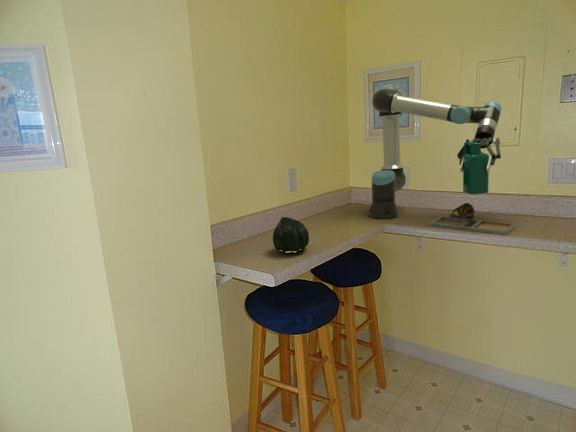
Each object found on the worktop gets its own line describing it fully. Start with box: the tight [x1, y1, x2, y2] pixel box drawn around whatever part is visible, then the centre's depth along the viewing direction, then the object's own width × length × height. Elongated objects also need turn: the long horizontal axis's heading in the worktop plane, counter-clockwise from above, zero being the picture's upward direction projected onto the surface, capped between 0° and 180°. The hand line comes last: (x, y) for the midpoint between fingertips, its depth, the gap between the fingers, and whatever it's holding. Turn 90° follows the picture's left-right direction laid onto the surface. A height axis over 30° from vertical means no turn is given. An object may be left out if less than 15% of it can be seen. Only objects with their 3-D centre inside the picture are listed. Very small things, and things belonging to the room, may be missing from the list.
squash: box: [272, 216, 310, 252], centre depth 155 cm, size 14×15×15 cm
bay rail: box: [428, 215, 516, 236], centre depth 175 cm, size 32×15×1 cm, turn 49°
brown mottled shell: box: [448, 202, 476, 219], centre depth 191 cm, size 7×13×10 cm
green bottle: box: [462, 141, 490, 196], centre depth 170 cm, size 10×8×22 cm
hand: (474, 170), depth 167 cm, fingers closed on green bottle, 10 cm apart
